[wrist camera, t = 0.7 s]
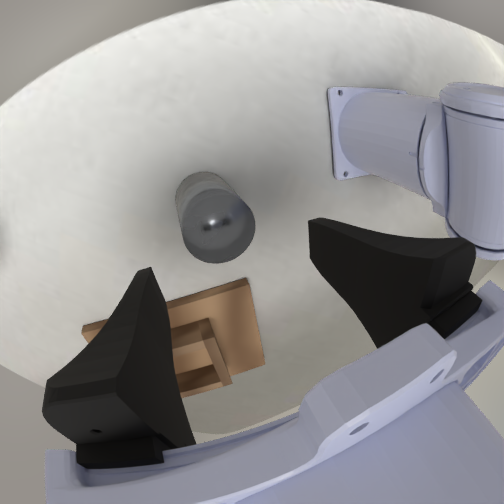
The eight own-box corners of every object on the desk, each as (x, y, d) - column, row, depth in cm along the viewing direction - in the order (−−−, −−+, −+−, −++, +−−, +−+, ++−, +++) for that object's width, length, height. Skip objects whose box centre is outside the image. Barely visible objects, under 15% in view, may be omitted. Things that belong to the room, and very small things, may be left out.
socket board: (245, 277, 24) (259, 301, 21) (262, 357, 31) (273, 380, 28) (82, 326, 21) (77, 353, 18) (135, 393, 27) (137, 418, 24)
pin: (223, 165, 19) (249, 186, 14) (233, 215, 21) (259, 251, 16) (169, 180, 18) (174, 207, 13) (183, 230, 20) (193, 271, 15)
